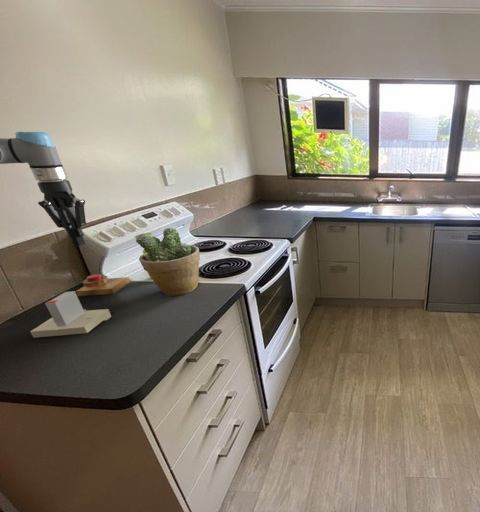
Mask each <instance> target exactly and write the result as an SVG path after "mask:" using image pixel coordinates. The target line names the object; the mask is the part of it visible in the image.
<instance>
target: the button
mask: <svg viewBox="0 0 480 512" xmlns="http://www.w3.org/2000/svg"><path fill="white" fill-rule="evenodd" d="M101 275H102V274H101V273H95V274H91V275H88V276H86V279H87V280H88V282H93V281H98V280H100V279H102V277H101Z"/></svg>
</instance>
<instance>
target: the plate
mask: <svg viewBox="0 0 480 512" xmlns="http://www.w3.org/2000/svg"><path fill="white" fill-rule="evenodd" d="M83 310H84V312H85V313H84V314H82V315H81V316H80V317H78V318H77V319H75V320H74V321H72V322H71V323H70V324H68V325H67V326H57V325H56V323H55V321H54V320H53V318H52V317H50V318H49V319H47V320H46V321H45V322H43V323H41V324H39V325H38V326H37V327H35V328H33V329H32V330H30V331H29V332H30V334H31V336H32V338H33V339H36V338H45V337H57V336H58V337H59V336H71V335H80V334H88V333H89V332H91V331H92V330H93V329H94V328H96V327H97V326H98V325H100V323H102V322H103V321H108V320H110V318H111V317H112V315H111V312H110V310H109V309H108V308H105V309H104V308H103V309H91V310H90V309H89V310H87V309H86V308H85V309H83Z"/></svg>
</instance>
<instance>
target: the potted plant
mask: <svg viewBox="0 0 480 512" xmlns="http://www.w3.org/2000/svg"><path fill="white" fill-rule="evenodd" d="M162 233H163V235H162V236H163V238H162V239H160V238H158V237H156V236H153V235H150V236H149V235H148V234H143V233H139V234H140V235H139V234H138V235H139V236H138V237H137V238H135V243H137V244H138V245H139V246H140V247H141V248H142V249H143V250H145V252H147V253H145V254H143V253H142V254H141V255H140V256H139V258H138V261H139V262H140V264H141V266H142V268H143V270H144V271H146V272H147V274H148V276H149V278H150V279H151V280H152V281H153V282H154V284H155V285H156V286H157V287H158V288H159V290H160V291H161V292H162V293H163V295H165V296H166V297H167V296H168V297H176V296H177V297H178V296H182V295H185V294H189V293H191V292H193V291H194V290H195V289H197V288H198V285H199V273H200V270H199V269H200V260H201V257H200V248H199V247H198V246H196V245H193V244H187V243H186V242H185V243H182V241H181V240H182V239H181V237H180V234H179V231H178V230H177V228H174V227H167V228H164V230H163V232H162Z"/></svg>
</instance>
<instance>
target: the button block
mask: <svg viewBox="0 0 480 512" xmlns="http://www.w3.org/2000/svg"><path fill="white" fill-rule="evenodd" d="M101 277H102V279H100V280H98V281H93V282H88V280H87V278H85V279H84V280H83V281H82V285H83V286H82V287H80V288H79V289H77V290H76V291H75V293H76V295H77V297H85V296H99V295H100V296H101V295H113V294H115V293H117V292H118V291H120V290H121V289H123V288H124V287H125V286H127V285H128V284H130V283H131V280H130V277H129V276H127V277H110V278H109V277H108V276H107V275H105V274H103V275H102V274H101Z"/></svg>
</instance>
